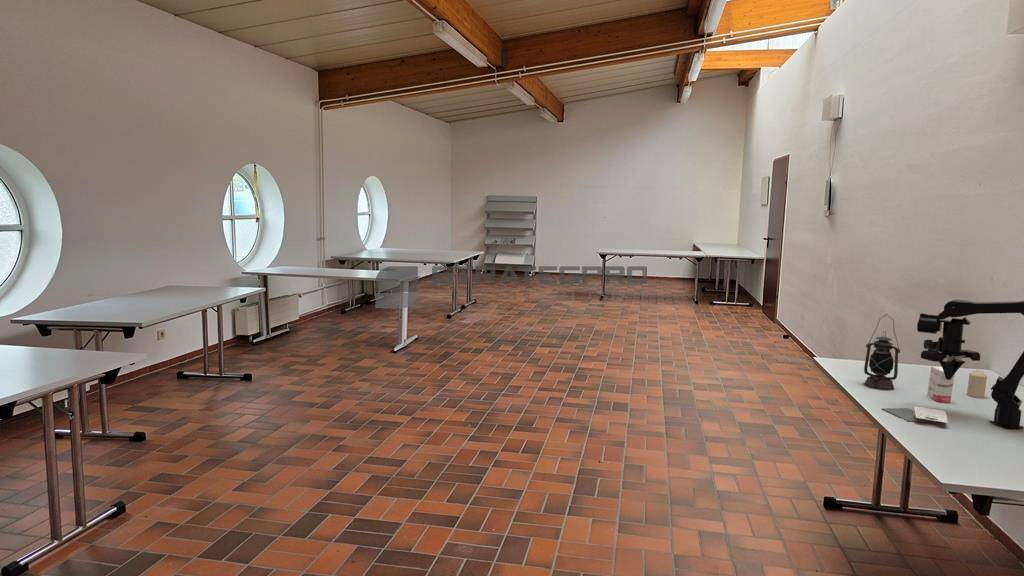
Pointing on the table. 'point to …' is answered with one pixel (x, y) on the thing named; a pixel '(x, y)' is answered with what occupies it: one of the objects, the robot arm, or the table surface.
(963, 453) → the table surface
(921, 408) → the ink box
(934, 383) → the ink box
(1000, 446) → the table surface
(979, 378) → the candle
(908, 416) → the slate mat
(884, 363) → the lantern
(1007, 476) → the table surface
